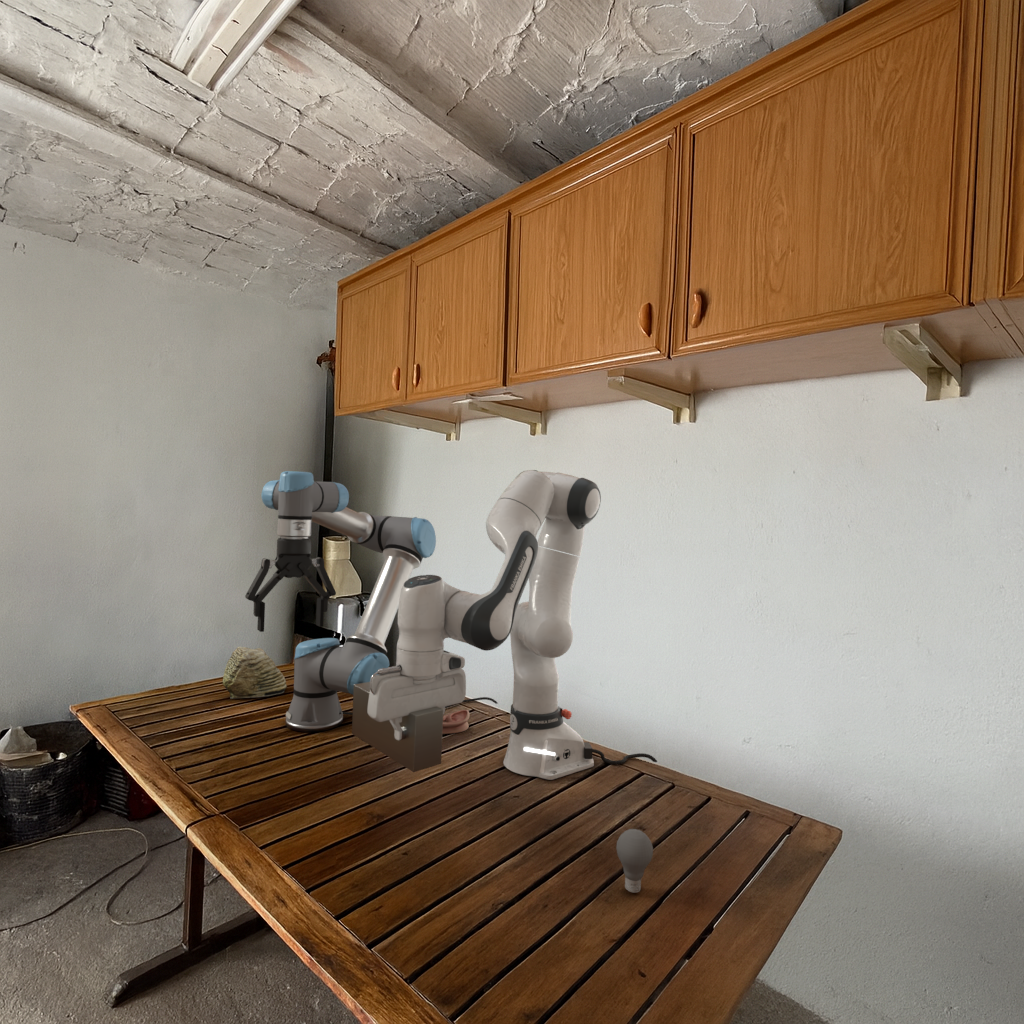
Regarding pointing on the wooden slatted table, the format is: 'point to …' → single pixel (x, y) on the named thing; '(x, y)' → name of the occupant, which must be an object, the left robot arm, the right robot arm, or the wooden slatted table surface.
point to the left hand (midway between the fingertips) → (290, 628)
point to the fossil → (252, 674)
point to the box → (420, 728)
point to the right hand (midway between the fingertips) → (417, 734)
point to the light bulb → (634, 857)
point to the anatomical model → (455, 722)
